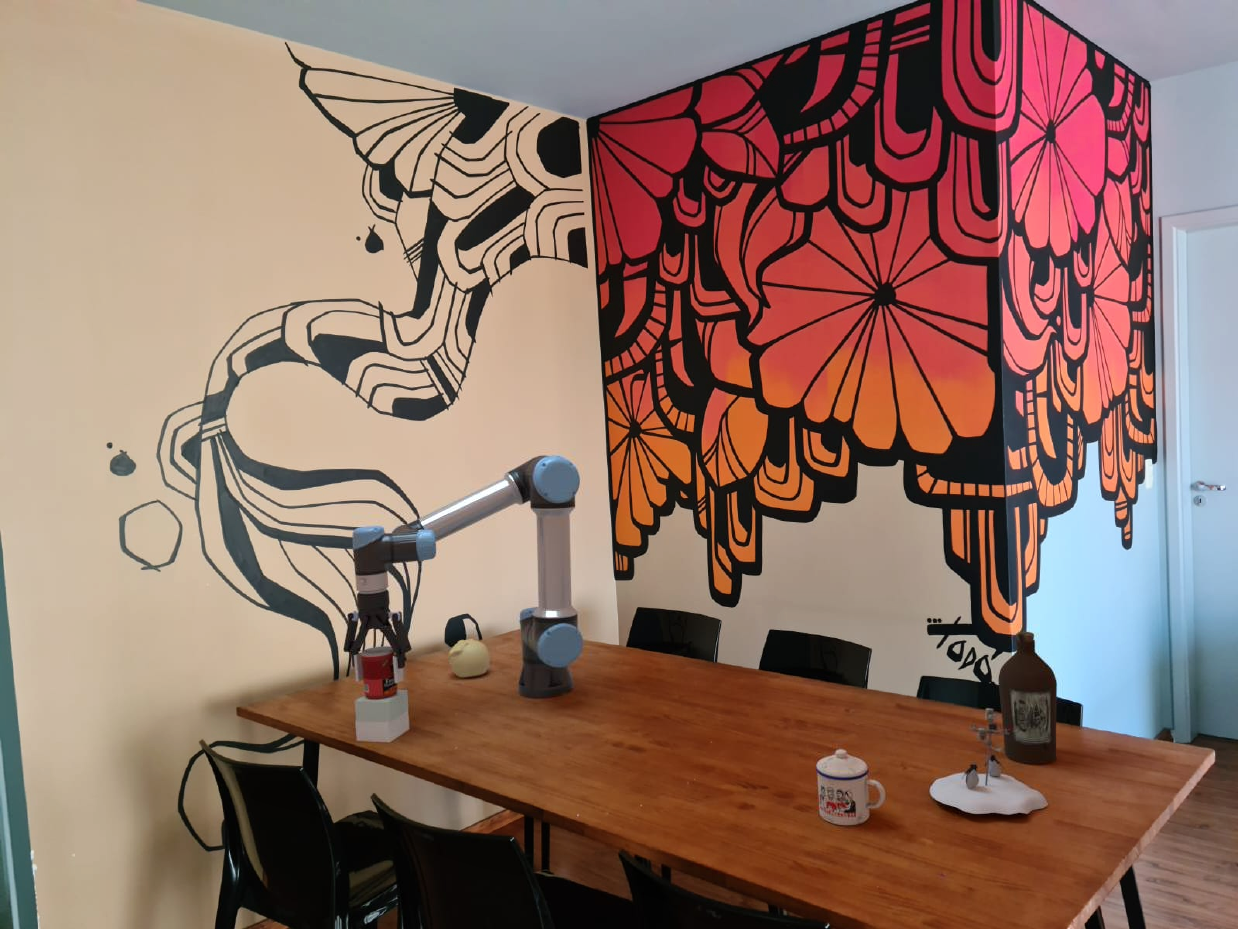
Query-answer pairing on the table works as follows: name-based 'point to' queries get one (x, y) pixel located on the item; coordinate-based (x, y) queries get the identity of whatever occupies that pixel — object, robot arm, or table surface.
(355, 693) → the table surface
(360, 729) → the tower base
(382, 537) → the robot arm
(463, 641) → the sculpture
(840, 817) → the teacup with lid
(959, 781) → the figurine
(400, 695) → the tower top
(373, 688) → the canned food
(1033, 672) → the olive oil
